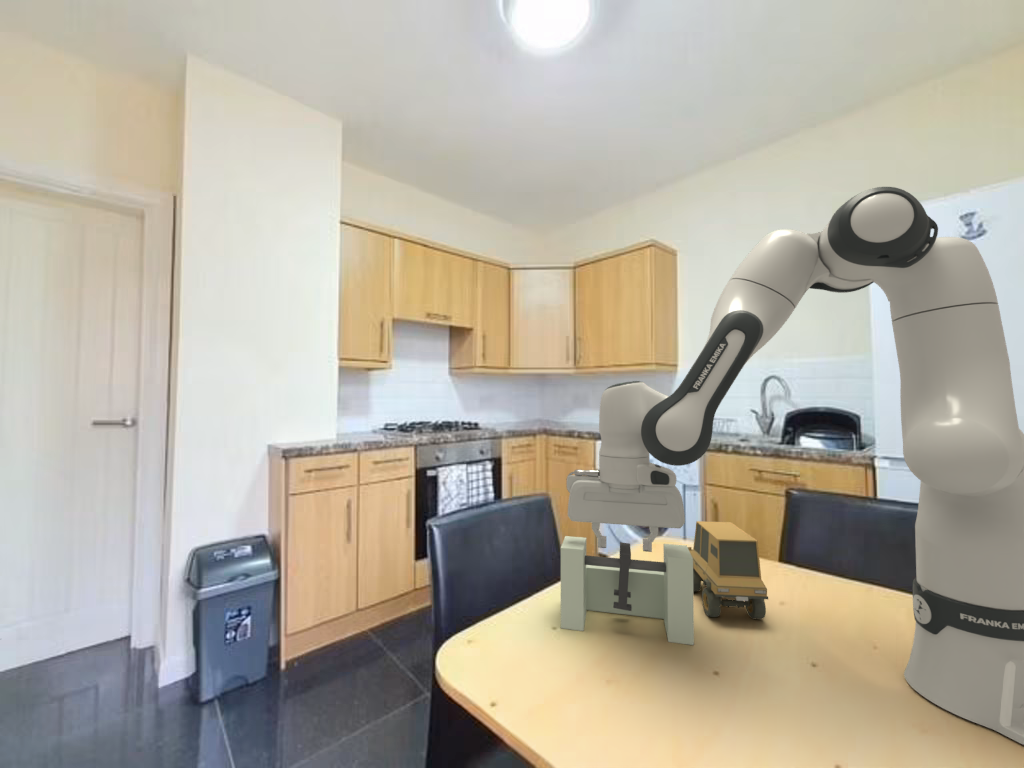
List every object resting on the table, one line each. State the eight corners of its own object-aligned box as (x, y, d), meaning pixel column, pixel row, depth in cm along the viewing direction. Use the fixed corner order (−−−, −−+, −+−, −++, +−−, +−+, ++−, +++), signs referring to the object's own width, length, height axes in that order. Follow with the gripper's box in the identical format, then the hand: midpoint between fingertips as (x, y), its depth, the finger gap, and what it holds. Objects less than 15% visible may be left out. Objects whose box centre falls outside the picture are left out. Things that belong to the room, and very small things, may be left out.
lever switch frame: (685, 616, 82) (684, 540, 83) (693, 645, 73) (692, 558, 73) (567, 602, 87) (567, 531, 88) (560, 628, 78) (560, 547, 78)
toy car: (730, 585, 97) (729, 516, 97) (773, 630, 78) (771, 544, 78) (681, 583, 98) (681, 514, 98) (712, 626, 79) (711, 541, 79)
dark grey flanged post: (630, 594, 82) (633, 544, 82) (631, 611, 75) (634, 555, 75) (613, 591, 82) (616, 541, 83) (613, 607, 76) (616, 553, 76)
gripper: (564, 471, 79) (564, 549, 78) (685, 476, 74) (686, 560, 74) (568, 466, 85) (568, 539, 85) (680, 470, 80) (681, 547, 80)
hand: (624, 548), depth 79 cm, fingers open, 6 cm apart
